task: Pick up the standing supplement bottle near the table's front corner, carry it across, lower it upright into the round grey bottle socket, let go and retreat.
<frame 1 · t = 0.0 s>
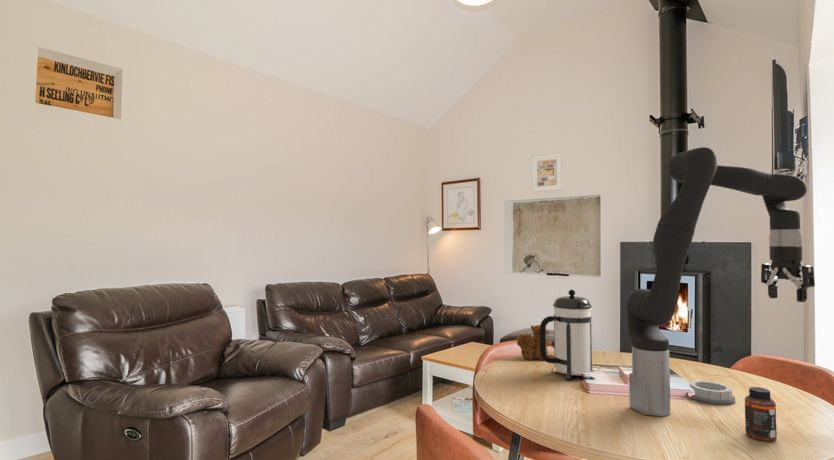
hand: (787, 299, 133), 29 cm above the table, fingers open, 8 cm apart
supplement bottle: (761, 438, 107), on the table
coffee press: (570, 376, 158), on the table
bottle socket: (710, 397, 135), on the table
stuffed squirrel: (535, 359, 182), on the table
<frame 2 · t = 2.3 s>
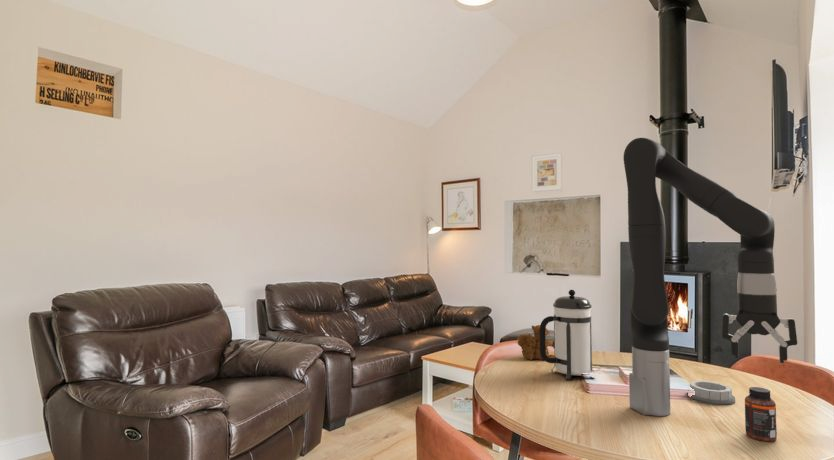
hand: (758, 359, 108), 18 cm above the table, fingers open, 8 cm apart
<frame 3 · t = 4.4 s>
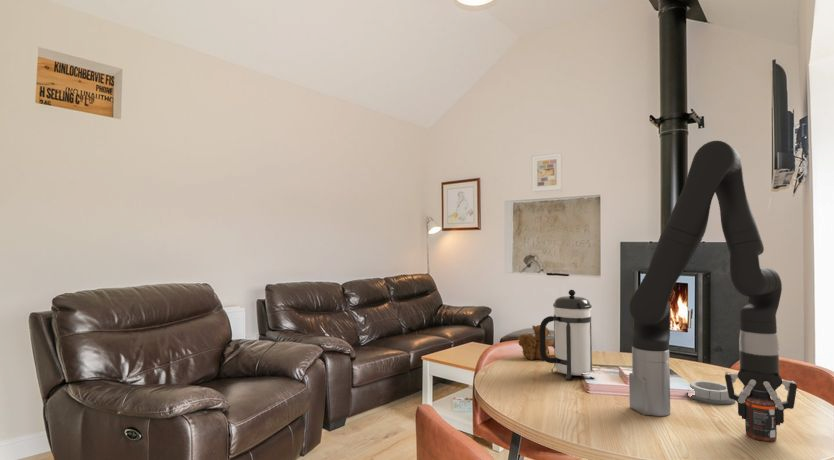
hand: (760, 420, 108), 4 cm above the table, fingers closed on supplement bottle, 6 cm apart
supplement bottle: (761, 438, 107), on the table, touching gripper
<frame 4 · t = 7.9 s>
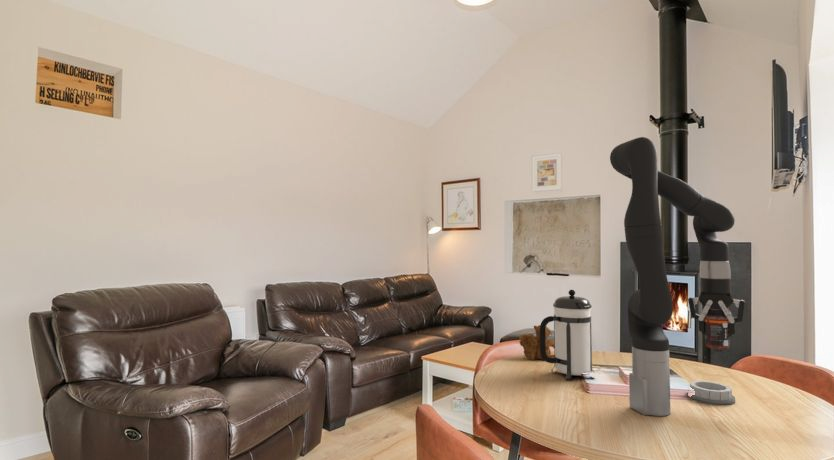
hand: (716, 334, 131), 20 cm above the table, fingers closed on supplement bottle, 6 cm apart
supplement bottle: (717, 348, 131), point 16 cm above the table, touching gripper
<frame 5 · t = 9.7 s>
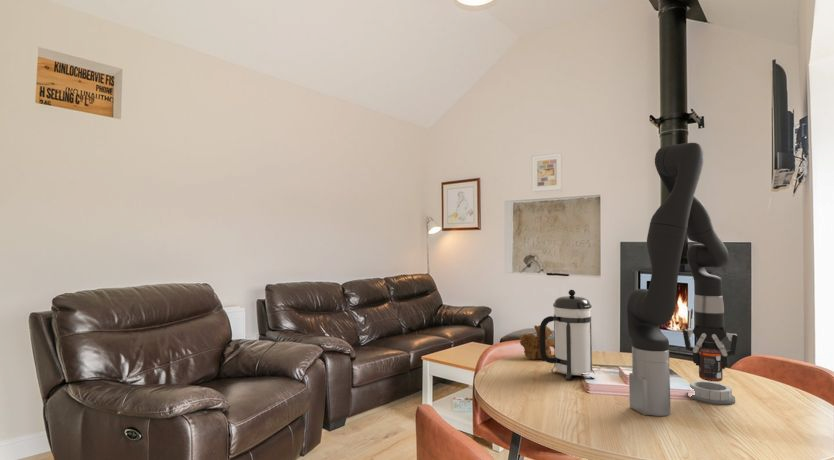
hand: (710, 366, 135), 9 cm above the table, fingers closed on supplement bottle, 6 cm apart
supplement bottle: (710, 380, 135), point 5 cm above the table, touching gripper
when the fingers open (6 cm above the table, at t = 11.3 s): supplement bottle stays where it is, resting on bottle socket.
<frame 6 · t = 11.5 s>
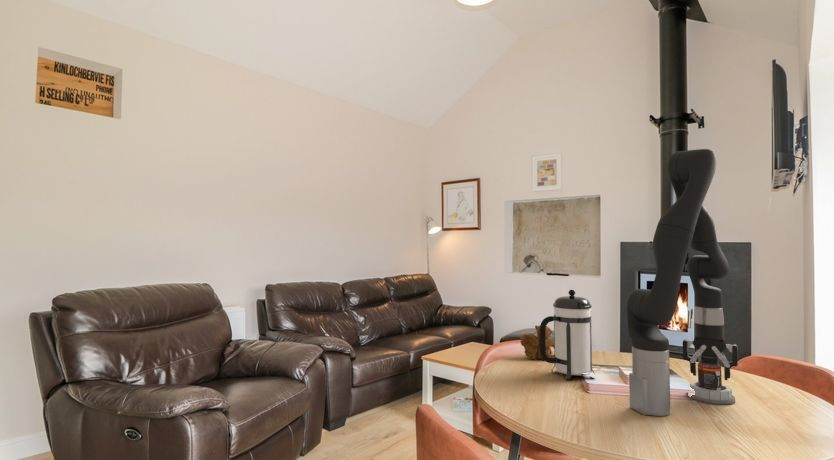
hand: (710, 377, 135), 6 cm above the table, fingers open, 7 cm apart
supplement bottle: (710, 394, 135), point 1 cm above the table, touching bottle socket
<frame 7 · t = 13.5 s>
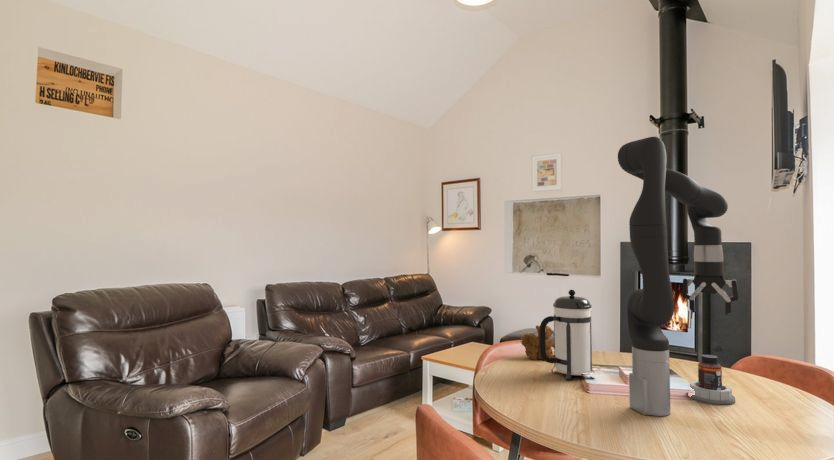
hand: (710, 313, 137), 25 cm above the table, fingers open, 8 cm apart
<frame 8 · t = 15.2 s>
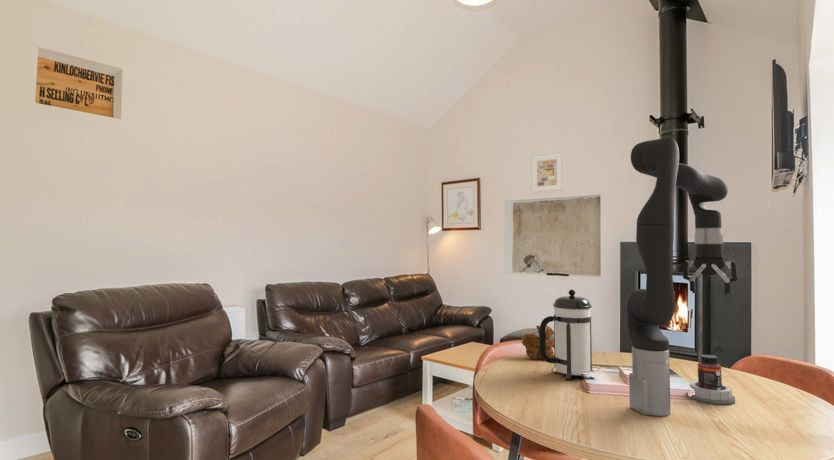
hand: (709, 294, 143), 30 cm above the table, fingers open, 8 cm apart
at the end: supplement bottle 0.1 cm off-centre on the bottle socket, point 0.8 cm above the bottle socket's base; supplement bottle tilted 0°; the gripper is holding nothing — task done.
